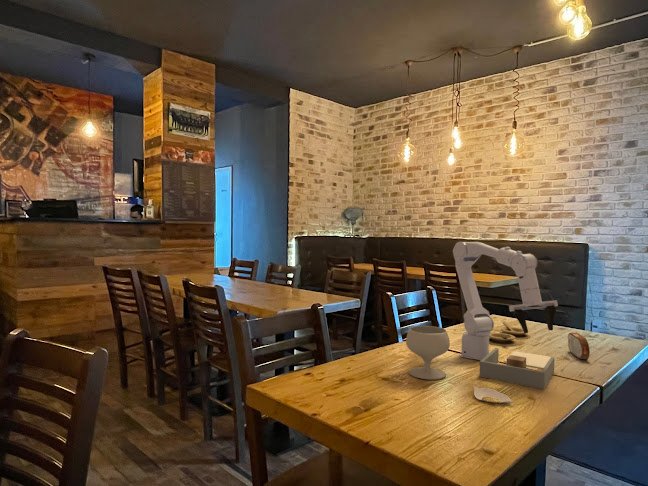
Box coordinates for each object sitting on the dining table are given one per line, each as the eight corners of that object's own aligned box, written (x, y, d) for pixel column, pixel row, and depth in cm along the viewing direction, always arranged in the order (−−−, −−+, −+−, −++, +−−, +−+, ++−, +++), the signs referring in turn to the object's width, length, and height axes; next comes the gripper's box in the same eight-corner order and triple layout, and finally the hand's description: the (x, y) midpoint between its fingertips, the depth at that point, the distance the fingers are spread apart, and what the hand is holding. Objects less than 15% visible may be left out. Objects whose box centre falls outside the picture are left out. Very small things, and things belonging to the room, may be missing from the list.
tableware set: (519, 351, 171) (519, 336, 171) (471, 342, 185) (472, 329, 184) (541, 338, 193) (541, 325, 193) (497, 331, 207) (497, 319, 206)
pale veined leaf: (478, 389, 127) (479, 381, 127) (519, 404, 118) (519, 395, 118) (465, 397, 122) (465, 389, 121) (506, 413, 113) (507, 404, 113)
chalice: (402, 378, 137) (403, 332, 136) (409, 365, 150) (409, 323, 149) (447, 384, 132) (448, 336, 131) (450, 370, 145) (451, 326, 144)
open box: (479, 376, 139) (479, 361, 139) (495, 361, 155) (495, 348, 155) (544, 389, 128) (544, 372, 128) (554, 371, 144) (554, 357, 144)
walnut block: (506, 376, 139) (506, 358, 139) (509, 372, 143) (510, 354, 143) (522, 379, 136) (523, 361, 136) (525, 375, 140) (526, 357, 140)
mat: (503, 361, 155) (503, 360, 155) (513, 352, 168) (513, 351, 168) (546, 369, 147) (546, 368, 147) (553, 358, 160) (553, 357, 160)
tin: (590, 362, 155) (590, 339, 155) (580, 361, 156) (581, 339, 156) (574, 351, 170) (575, 330, 170) (566, 350, 171) (566, 329, 170)
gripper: (510, 291, 137) (518, 334, 135) (557, 285, 136) (567, 329, 133) (504, 293, 144) (512, 333, 142) (549, 287, 142) (558, 328, 140)
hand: (538, 331), depth 138 cm, fingers open, 7 cm apart
